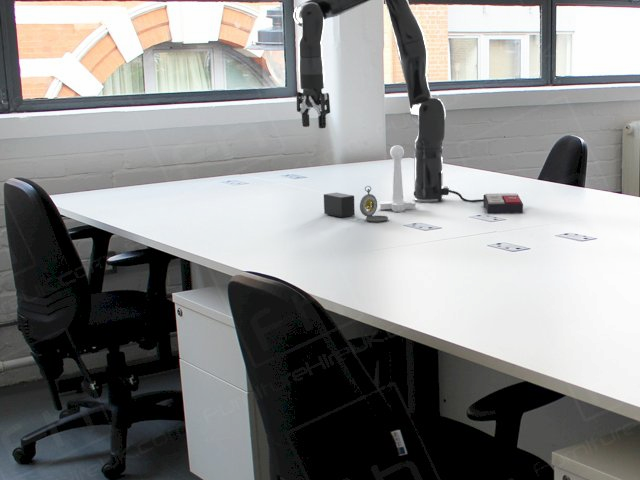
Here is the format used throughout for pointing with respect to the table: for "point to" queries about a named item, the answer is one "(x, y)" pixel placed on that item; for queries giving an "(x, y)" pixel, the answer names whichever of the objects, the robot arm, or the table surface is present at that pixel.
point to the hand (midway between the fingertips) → (314, 127)
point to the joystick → (397, 184)
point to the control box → (503, 203)
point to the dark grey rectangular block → (339, 204)
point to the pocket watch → (371, 210)
